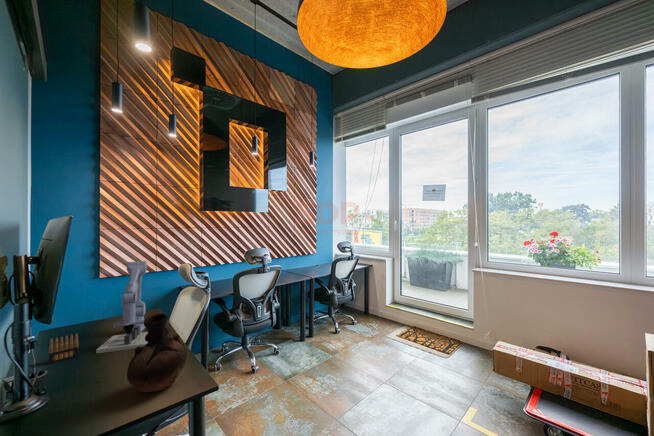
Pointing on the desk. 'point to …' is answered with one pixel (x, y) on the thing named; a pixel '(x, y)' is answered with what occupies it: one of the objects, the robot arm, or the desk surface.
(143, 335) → the breaker panel
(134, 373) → the ceramic vessel
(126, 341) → the block
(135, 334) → the block
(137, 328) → the block
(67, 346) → the ammunition clip
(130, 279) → the robot arm
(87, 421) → the desk surface
